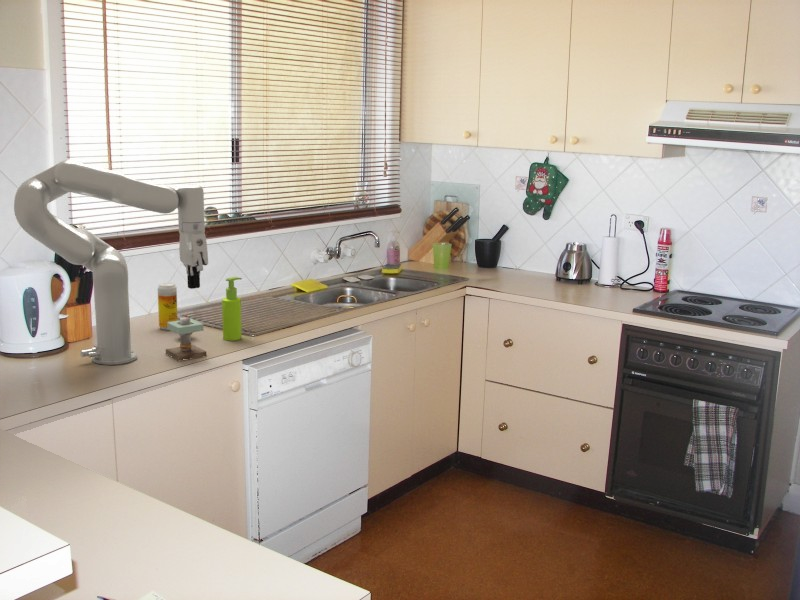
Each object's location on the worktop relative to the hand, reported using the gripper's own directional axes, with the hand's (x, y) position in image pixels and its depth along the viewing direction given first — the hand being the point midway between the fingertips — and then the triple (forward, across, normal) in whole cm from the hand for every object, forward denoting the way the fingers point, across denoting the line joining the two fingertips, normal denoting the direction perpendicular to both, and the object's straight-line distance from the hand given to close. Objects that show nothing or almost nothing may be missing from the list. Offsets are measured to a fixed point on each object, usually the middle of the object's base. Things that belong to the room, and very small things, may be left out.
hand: (193, 287), depth 261 cm
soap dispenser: (+21, +9, -18) cm, 29 cm away
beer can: (+21, +32, -6) cm, 39 cm away
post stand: (+21, 0, +3) cm, 21 cm away
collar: (+13, 0, +3) cm, 13 cm away
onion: (+21, +17, -5) cm, 27 cm away
